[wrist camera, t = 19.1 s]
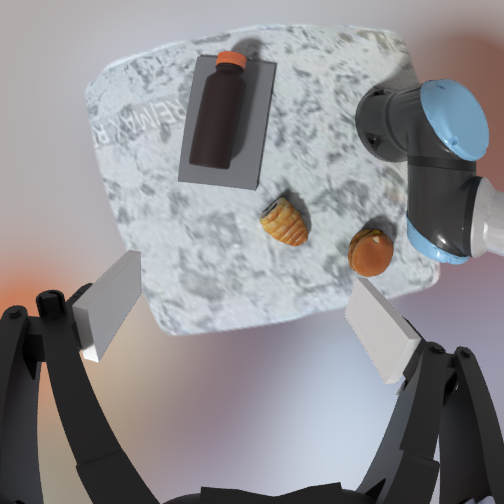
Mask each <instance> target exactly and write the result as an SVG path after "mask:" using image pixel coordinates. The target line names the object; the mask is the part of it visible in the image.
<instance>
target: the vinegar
mask: <svg viewBox="0 0 504 504" xmlns="http://www.w3.org/2000/svg"><path fill="white" fill-rule="evenodd" d="M246 61H247V58H246V57H245V56H244V55H242V54H240V53H237V52H230V51H225V52H220V53H219V54H218V57H217V61H216V66H215V68H216V72H214V73H213V74H211V75H210V76H208V77H207V78H206V82H205V86H204V90H203V94H202V98H201V102H200V107H199V111H198V116H197V121H196V125H195V130H194V135H193V140H192V146H191V151H190V156H189V164H191V165H197V166H203V167H209V168H216V169H224V170H228V169H229V167H230V162H231V157H232V152H233V147H234V142H235V137H236V132H237V127H238V123H239V118H240V113H241V108H242V104H243V99H244V95H245V90H246V83H245V81H244V80H243V78H242V77H241V74H242V73H243V72H244V69H245V65H246Z"/></svg>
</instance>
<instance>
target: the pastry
mask: <svg viewBox="0 0 504 504" xmlns="http://www.w3.org/2000/svg"><path fill="white" fill-rule="evenodd" d="M260 223H261V224H262V226H263V228H264V230H265V231H266V232H268V233H269V234H270V235H271V236H272V237H273V238H275V239H277V240H279V241H281V242H283V243H287V244H289V245H291V246H299V245H301V244H302V243H303V242H305V241H307V239H308V230H307V228H306V225H305V222H304V221H303V219H302V218H301V216H300V212H299V211H297V210H296V209H295V208H294V207H293V206H292V205H291V204H290V203H289V202H288V201H287V200H286V199H285V198H283V197H282V198H279V199H278V201H275V202H274V203H273V204H272V205H271V206H270V208H269V209H268V210H266V211H264V212H263V213H262V214H261V216H260Z"/></svg>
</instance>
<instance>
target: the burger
mask: <svg viewBox="0 0 504 504" xmlns="http://www.w3.org/2000/svg"><path fill="white" fill-rule="evenodd" d="M349 248H350V249H349V253H348V260H349V265H350V267H351V268H352V269H353V270H354V271H356V272H357V273H358V274H360V275H362V276H366V277H370V276H376V275H379V274H381V273H383V272H384V271H385V270H386V269H387V267H388V266H389V264H390V261H391V259H392V256H393V250H394V249H393V242H391V239H390V238H388V237H387V235H385V234H384V233H383V231H382V230H378V229H376V230H374V229H373V230H371V229H365V230H362V231H360V232H359V233H357V235H356V236H354V237H353V239H352V241H351V243H350V246H349Z"/></svg>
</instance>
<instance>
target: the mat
mask: <svg viewBox="0 0 504 504" xmlns="http://www.w3.org/2000/svg"><path fill="white" fill-rule="evenodd" d="M216 61H217V58H214V57H197V62H196V67H195V72H194V76H193V82H192V87H191V92H190V98H189V103H188V109H187V115H186V122H185V128H184V135H183V142H182V150H181V158H180V166H179V175H178V182H189V183H199V184H208V185H217V186H225V187H234V188H241V189H249V190H256V186H257V179H258V173H259V166H260V159H261V153H262V146H263V140H264V133H265V127H266V120H267V114H268V107H269V101H270V94H271V88H272V81H273V75H274V69H275V65H274V64H268V63H261V62H254V61H246V65H245V69H244V72H243V73H242V74H241V77H242V78H243V80H244V81H245V83H246V90H245V95H244V99H243V104H242V108H241V113H240V118H239V123H238V127H237V132H236V137H235V142H234V147H233V152H232V157H231V162H230V167H229V169H228V170H224V169H216V168H209V167H203V166H197V165H191V164H189V156H190V151H191V146H192V140H193V135H194V130H195V125H196V121H197V116H198V111H199V107H200V102H201V98H202V94H203V90H204V86H205V82H206V78H207V77H208V76H210V75H211V74H213V73H214V72H216V68H215V66H216Z"/></svg>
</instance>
